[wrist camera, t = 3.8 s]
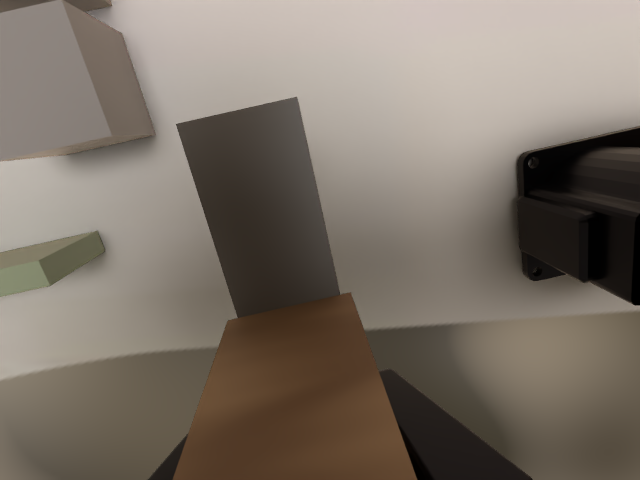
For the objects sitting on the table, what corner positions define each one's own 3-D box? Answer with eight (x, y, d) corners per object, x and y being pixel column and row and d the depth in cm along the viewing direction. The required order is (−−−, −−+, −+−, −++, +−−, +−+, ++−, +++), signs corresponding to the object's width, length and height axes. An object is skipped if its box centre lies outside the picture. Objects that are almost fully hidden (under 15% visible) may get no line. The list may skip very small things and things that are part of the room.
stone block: (122, 33, 15) (61, -1, 11) (156, 134, 16) (111, 135, 12) (26, 55, 15) (-70, 28, 11) (67, 154, 16) (-7, 161, 12)
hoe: (304, 104, 10) (368, -45, 2) (375, 434, 14) (513, 945, 5) (200, 128, 10) (-316, 108, 2) (297, 452, 14) (305, 993, 5)
